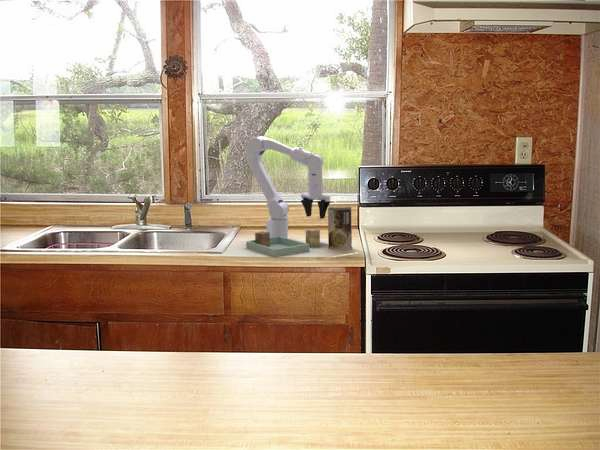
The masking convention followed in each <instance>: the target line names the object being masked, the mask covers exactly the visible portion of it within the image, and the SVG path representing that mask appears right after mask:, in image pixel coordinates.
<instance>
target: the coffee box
mask: <svg viewBox="0 0 600 450" xmlns="http://www.w3.org/2000/svg"><path fill="white" fill-rule="evenodd" d="M327 219H328V220H327V227H328V229H327V231H328V233H327V235H328V236H327V237H328V238H327V239H328V240H327V241H328V243H327V244H328V246H327V248H328V250H352V249H353V245H352V244H353V242H352V240H353V239H352V238H353V237H352V207H351V206H333V207H332V206H328V208H327Z"/></svg>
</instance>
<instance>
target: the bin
mask: <svg viewBox="0 0 600 450" xmlns="http://www.w3.org/2000/svg"><path fill="white" fill-rule="evenodd" d="M289 238H290V237H289ZM289 238H285V237H281V236H278V237H272V238H270V247H267V246H263V245H260V244H257V243H255V239H252V240H246V244H245V245H246V246H245V247H246V249H249V250H252V251H254V252H255V251H256V252H259V253H261V254H265V255H269V256H271V257H274V258H275V257H279V256H280V257H281V256H287V255H292V254H298V253H305V252H310V249H311V248H310V244H307V243H306V242H304V241H299V240H296V239H293V238H292V239H289Z"/></svg>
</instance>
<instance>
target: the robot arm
mask: <svg viewBox="0 0 600 450" xmlns="http://www.w3.org/2000/svg"><path fill="white" fill-rule="evenodd" d="M245 148H246V163H247V165H248V167H249V169H250V171H251V173H252V175H253V176H254V178H255V180H256V182H257V184H258V186H259V188H260V190H261V191H262V193H263V195H264V197H265V199H266V206H267V208H268V214H269V216H270V217H269V218H268V219H267V220H266V223H265V224H266V225H265V226H266V231H265V232H270V238H272V237H278V236H281V237H285V238H289V239H292V240H293V237H289V222H288V221H289V218H288V213H289V211H290V206H289V204H288V203H287V202H286V201H284V199H283V197H281V195H279V194H278V192H277V190H276V188H275V186H274V184H273V182H272V180H271V179H270V177H269V175H268V173H267V171H266V169H265V167H264V166H263V164H262V162H261V160H262V158H263V155H264V153H265V152H266V151H270V150H272V151H276V152H278V153H280V154H283V155H287V156H289V157H290V159H291V161H293V162H296V163H298V164H300V165H302V166H306V167H307V169H308V172H307V173H308V174H307V179H308V180H307V181H308V183H307V184H308V185H307V186H308V193H301V194H300V198H301V200H300V202H301V204H302V206H303V209H304V211H305V216H306V217H307V218H309V217H312V208H313V203H314V200H315V201H317V205H318V210H319V219H322V220H323V219H325V218H326V213H327V212H328V208H329V207H330V206H329V205H330V204H331V196H330V195H329V196H328V195H325V194H323V165H324V159H323V157H322V155H320V154H317V153H314V152H313V151H307V150H305V149H304V147H302V146H299V147H298V146H297V147H294V148H292V147H289V146H288V145H285V144H283V143H281V142H280V141H277V140H275V139H272V138H269V137H265V136H263V135H260V136H253V137H251V138H249V140H248V141H247V143H246V146H245Z"/></svg>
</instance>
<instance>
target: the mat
mask: <svg viewBox="0 0 600 450" xmlns="http://www.w3.org/2000/svg"><path fill="white" fill-rule="evenodd" d="M323 247H328V243H325V242H321V241H320V245H317V246H310V249H317V248H318V249H319V248H323Z"/></svg>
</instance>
